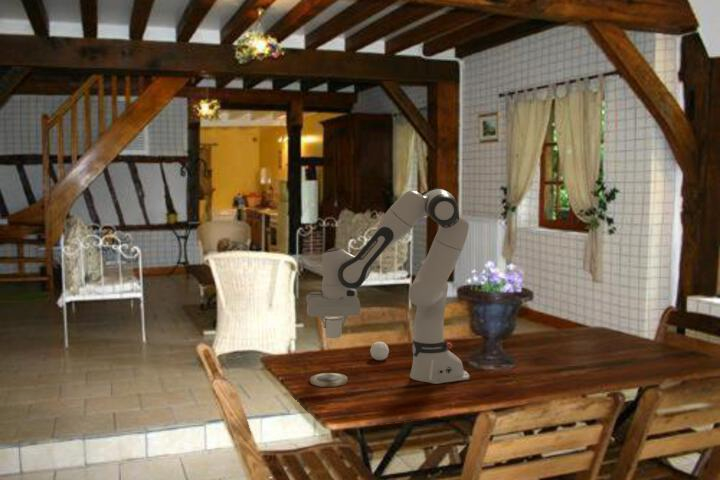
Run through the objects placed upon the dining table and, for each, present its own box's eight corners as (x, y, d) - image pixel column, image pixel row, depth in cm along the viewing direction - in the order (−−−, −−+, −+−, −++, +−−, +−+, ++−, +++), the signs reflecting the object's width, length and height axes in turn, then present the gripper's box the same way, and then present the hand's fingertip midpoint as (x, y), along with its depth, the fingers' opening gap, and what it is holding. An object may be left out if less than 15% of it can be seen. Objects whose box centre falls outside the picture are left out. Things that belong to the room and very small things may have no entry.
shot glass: (339, 339, 267) (339, 320, 267) (322, 337, 269) (322, 319, 268) (344, 335, 274) (344, 317, 273) (327, 333, 276) (327, 316, 275)
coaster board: (343, 375, 276) (343, 371, 276) (350, 385, 262) (350, 382, 262) (307, 377, 273) (307, 374, 273) (313, 388, 260) (313, 384, 259)
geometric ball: (376, 367, 297) (365, 353, 295) (378, 355, 304) (368, 342, 302) (391, 359, 294) (380, 345, 292) (393, 348, 301) (382, 334, 299)
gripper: (307, 293, 264) (307, 330, 266) (361, 291, 269) (361, 328, 270) (305, 290, 271) (305, 326, 272) (358, 289, 275) (358, 324, 276)
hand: (333, 327), depth 271 cm, fingers closed on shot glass, 5 cm apart
